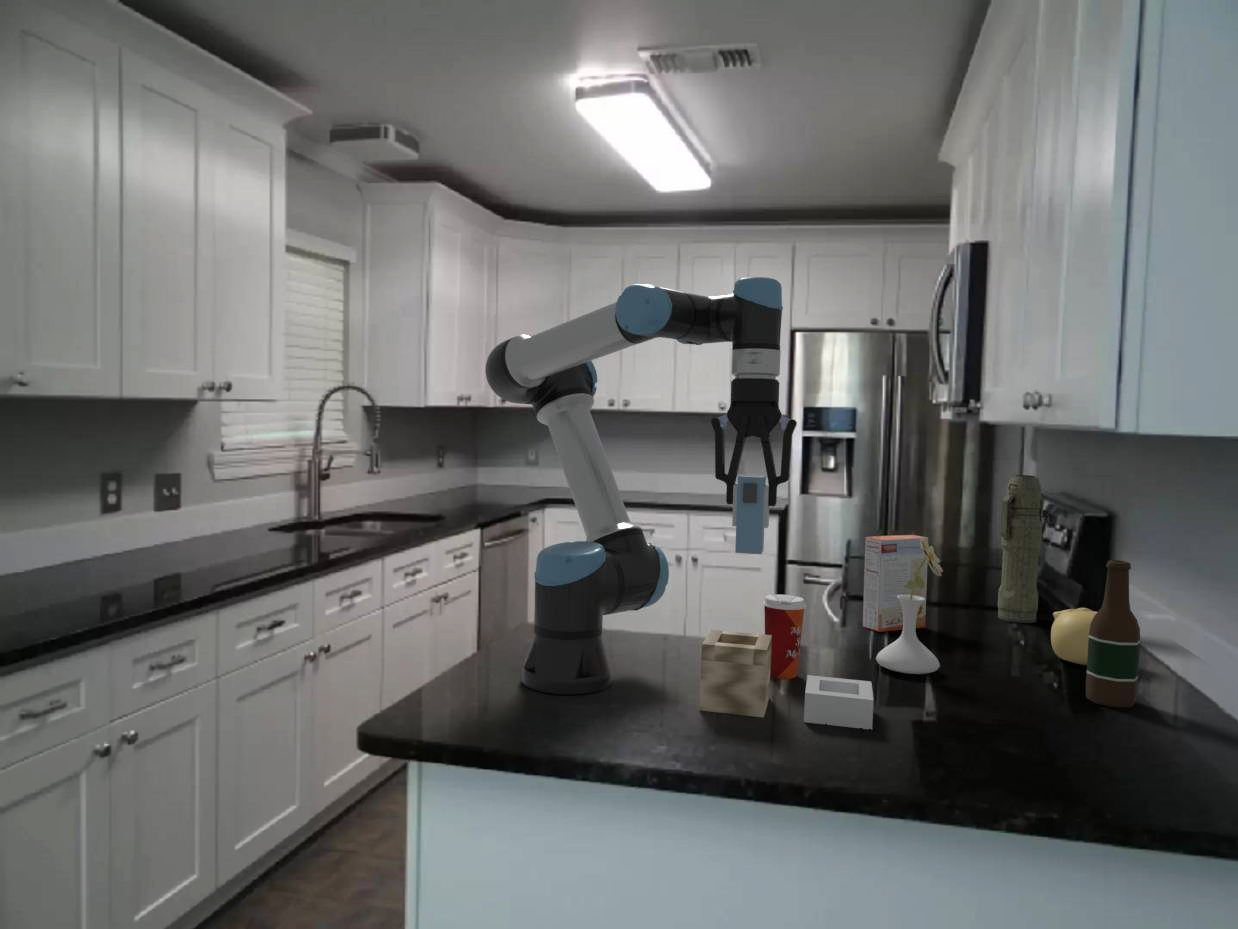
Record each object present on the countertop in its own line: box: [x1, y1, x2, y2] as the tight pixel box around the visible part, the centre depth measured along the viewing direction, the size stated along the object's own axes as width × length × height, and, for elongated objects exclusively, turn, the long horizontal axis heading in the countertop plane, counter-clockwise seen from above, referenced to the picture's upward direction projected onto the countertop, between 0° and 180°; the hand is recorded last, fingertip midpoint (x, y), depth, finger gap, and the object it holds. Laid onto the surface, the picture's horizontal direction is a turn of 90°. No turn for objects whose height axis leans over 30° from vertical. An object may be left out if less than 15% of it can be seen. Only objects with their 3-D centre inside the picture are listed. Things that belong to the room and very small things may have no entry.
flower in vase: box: [875, 536, 944, 675], centre depth 165 cm, size 13×11×25 cm
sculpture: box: [1050, 607, 1098, 666], centre depth 175 cm, size 12×12×11 cm
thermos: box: [997, 474, 1045, 624], centre depth 214 cm, size 9×12×35 cm
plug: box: [734, 474, 767, 555], centre depth 139 cm, size 4×5×12 cm
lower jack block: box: [803, 674, 875, 731], centre depth 138 cm, size 10×10×4 cm
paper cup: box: [762, 593, 807, 680], centre depth 159 cm, size 8×8×14 cm
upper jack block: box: [699, 629, 772, 719], centre depth 141 cm, size 10×10×10 cm
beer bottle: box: [1085, 559, 1141, 709], centre depth 149 cm, size 8×8×24 cm
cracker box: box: [862, 534, 929, 633], centre depth 200 cm, size 14×6×21 cm, turn 116°
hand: (750, 525), depth 140 cm, fingers closed on plug, 4 cm apart
